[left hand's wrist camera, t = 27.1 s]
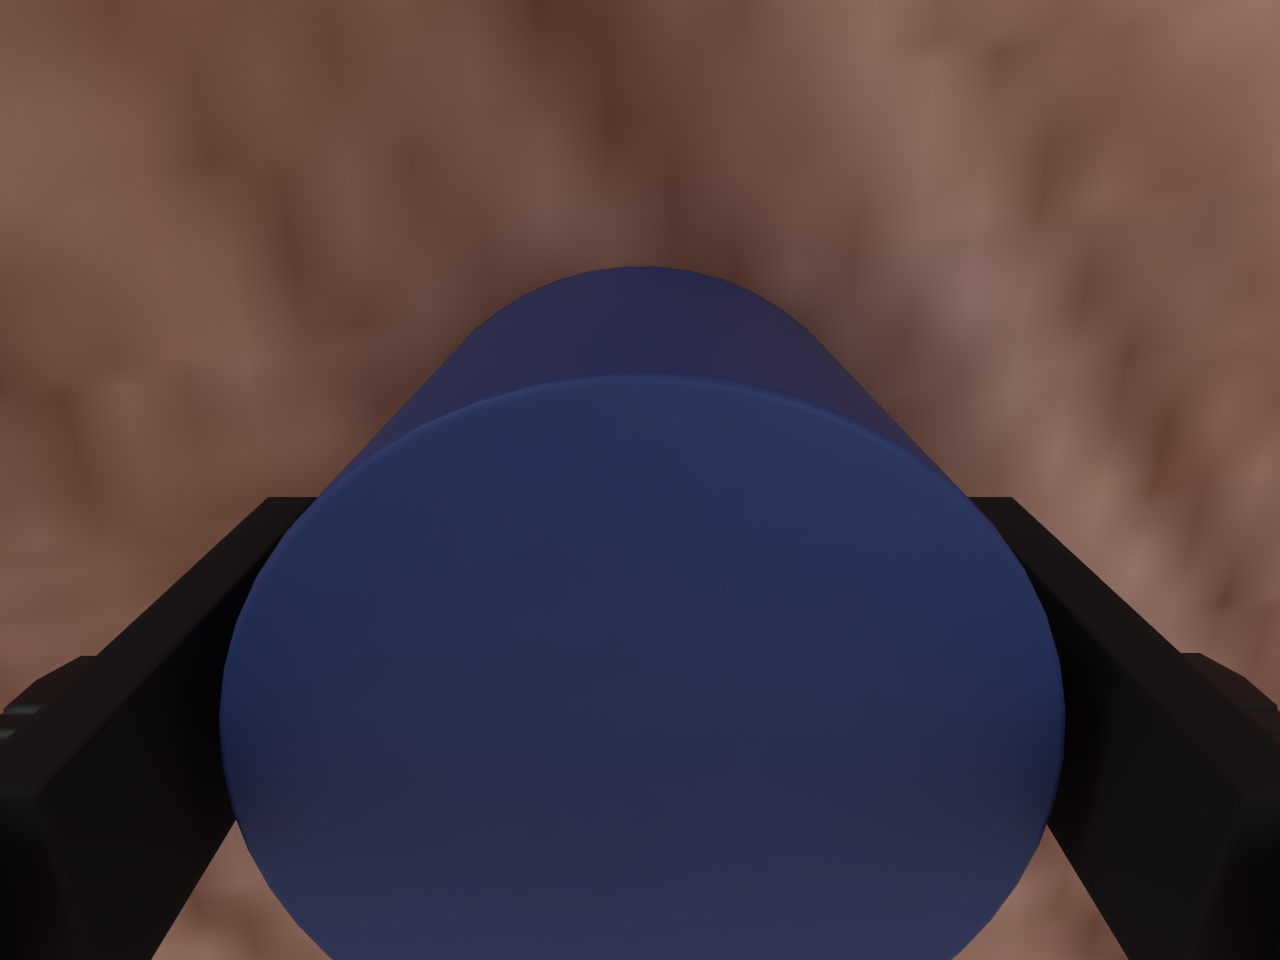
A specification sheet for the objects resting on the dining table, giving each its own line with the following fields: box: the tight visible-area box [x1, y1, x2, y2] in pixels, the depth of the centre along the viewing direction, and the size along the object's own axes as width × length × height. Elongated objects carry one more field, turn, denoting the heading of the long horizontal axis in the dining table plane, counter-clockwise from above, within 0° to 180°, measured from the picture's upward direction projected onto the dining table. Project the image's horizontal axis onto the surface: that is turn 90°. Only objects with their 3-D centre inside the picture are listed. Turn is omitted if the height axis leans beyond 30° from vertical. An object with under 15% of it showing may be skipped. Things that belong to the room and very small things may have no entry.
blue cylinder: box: [219, 267, 1066, 960], centre depth 13 cm, size 9×9×8 cm
